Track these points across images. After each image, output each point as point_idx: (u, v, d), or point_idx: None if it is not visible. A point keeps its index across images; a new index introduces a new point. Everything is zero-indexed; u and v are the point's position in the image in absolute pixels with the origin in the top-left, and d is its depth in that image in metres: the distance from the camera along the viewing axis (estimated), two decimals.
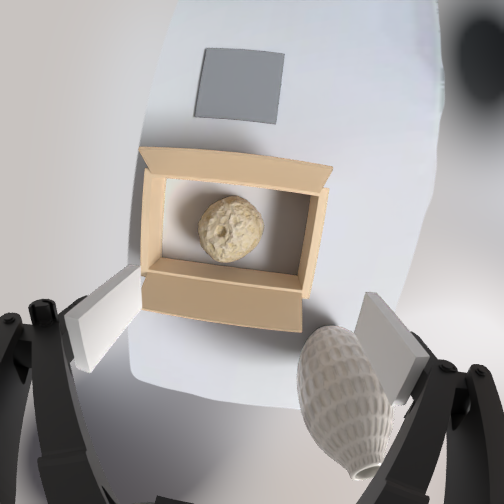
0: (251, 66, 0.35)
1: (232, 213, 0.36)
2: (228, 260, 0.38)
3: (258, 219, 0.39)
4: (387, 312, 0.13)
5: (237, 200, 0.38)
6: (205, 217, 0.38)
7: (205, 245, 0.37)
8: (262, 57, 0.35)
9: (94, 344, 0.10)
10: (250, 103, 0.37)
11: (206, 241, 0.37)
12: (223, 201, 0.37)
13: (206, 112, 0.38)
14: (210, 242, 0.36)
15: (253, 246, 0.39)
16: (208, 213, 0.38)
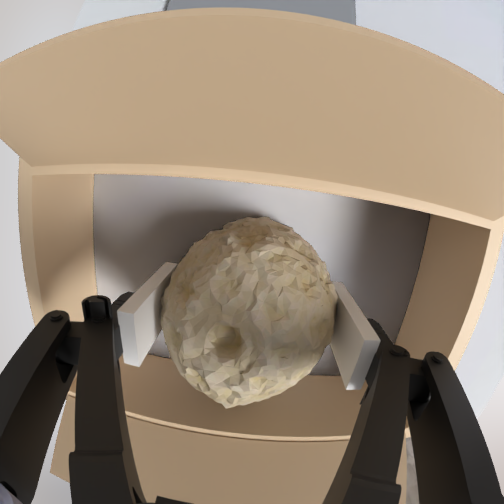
0: None
1: (262, 285, 0.11)
2: None
3: (330, 288, 0.13)
4: (346, 299, 0.14)
5: (273, 235, 0.12)
6: (177, 288, 0.12)
7: (182, 371, 0.12)
8: None
9: (143, 338, 0.11)
10: (292, 1, 0.12)
11: (182, 362, 0.11)
12: (230, 240, 0.12)
13: None
14: (195, 369, 0.11)
15: None
16: (185, 276, 0.12)
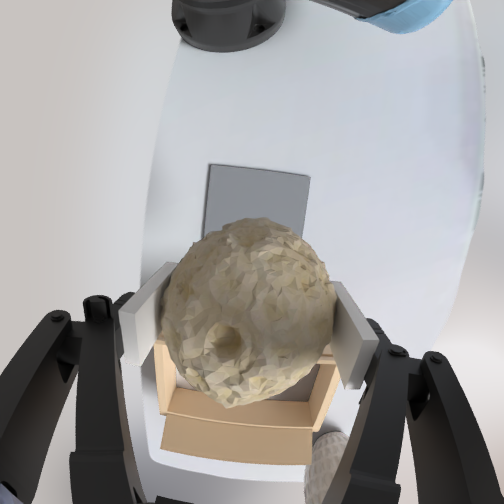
0: (268, 196, 0.33)
1: (261, 286, 0.11)
2: None
3: (329, 288, 0.13)
4: (346, 299, 0.14)
5: (272, 236, 0.12)
6: (177, 289, 0.12)
7: (182, 372, 0.12)
8: (282, 182, 0.33)
9: (144, 338, 0.11)
10: None
11: (182, 362, 0.12)
12: (229, 241, 0.12)
13: None
14: (195, 369, 0.11)
15: None
16: (185, 277, 0.12)
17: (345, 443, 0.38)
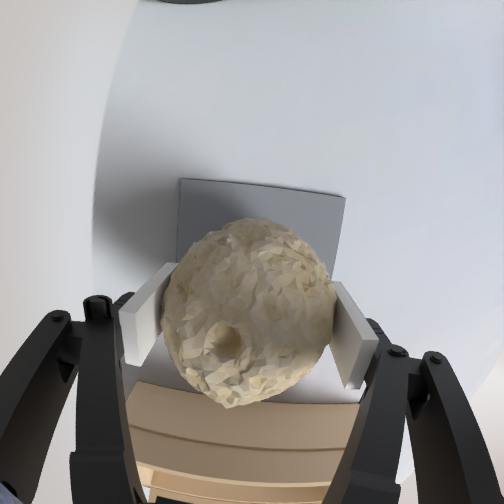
0: None
1: (261, 285, 0.11)
2: None
3: (329, 288, 0.13)
4: (345, 299, 0.14)
5: (272, 235, 0.12)
6: (176, 289, 0.12)
7: (182, 372, 0.12)
8: (300, 207, 0.20)
9: (145, 338, 0.11)
10: None
11: (182, 362, 0.11)
12: (229, 241, 0.12)
13: None
14: (195, 369, 0.11)
15: None
16: (185, 277, 0.12)
17: None
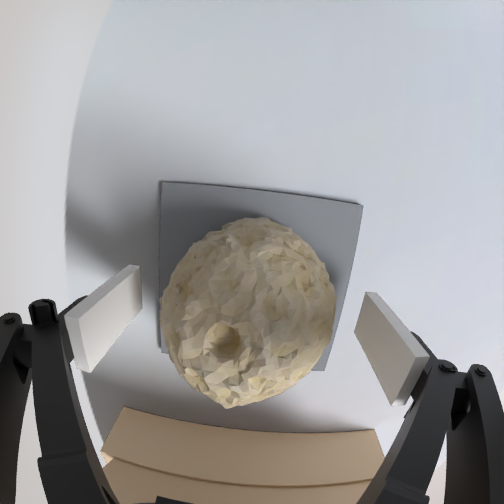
0: None
1: (261, 285, 0.11)
2: None
3: (329, 288, 0.13)
4: (387, 312, 0.13)
5: (272, 235, 0.12)
6: (176, 289, 0.12)
7: (181, 372, 0.12)
8: (308, 217, 0.16)
9: (94, 344, 0.10)
10: None
11: (182, 362, 0.11)
12: (229, 240, 0.12)
13: None
14: (194, 370, 0.11)
15: None
16: (184, 277, 0.12)
17: None
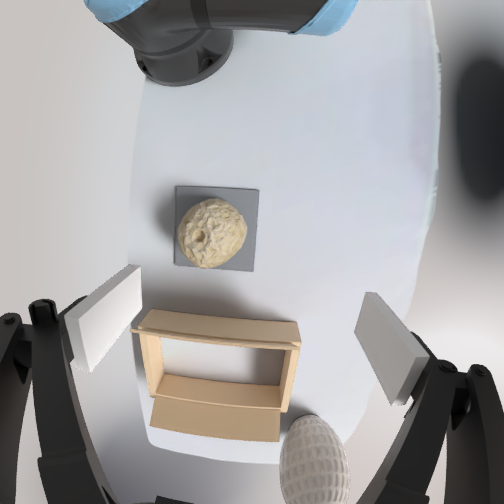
0: None
1: (209, 216, 0.34)
2: (209, 265, 0.36)
3: (239, 221, 0.37)
4: (387, 312, 0.13)
5: (215, 202, 0.36)
6: (183, 222, 0.36)
7: (184, 251, 0.35)
8: (235, 197, 0.39)
9: (94, 344, 0.10)
10: None
11: (185, 246, 0.35)
12: (200, 204, 0.35)
13: (185, 261, 0.42)
14: (189, 248, 0.34)
15: (235, 249, 0.37)
16: (186, 217, 0.36)
17: (316, 425, 0.45)
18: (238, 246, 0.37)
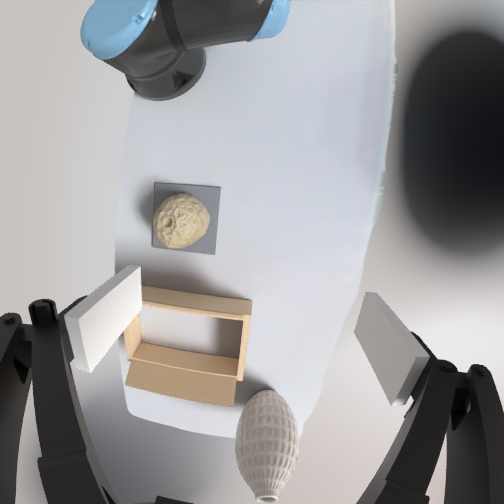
0: None
1: (176, 207, 0.43)
2: (175, 246, 0.44)
3: (200, 211, 0.45)
4: (387, 312, 0.13)
5: (183, 196, 0.44)
6: (157, 211, 0.44)
7: (156, 234, 0.43)
8: (201, 192, 0.48)
9: (94, 344, 0.10)
10: None
11: (157, 230, 0.43)
12: (171, 197, 0.44)
13: (161, 244, 0.51)
14: (160, 231, 0.43)
15: (197, 234, 0.45)
16: (159, 208, 0.44)
17: (271, 397, 0.54)
18: (199, 232, 0.45)
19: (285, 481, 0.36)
